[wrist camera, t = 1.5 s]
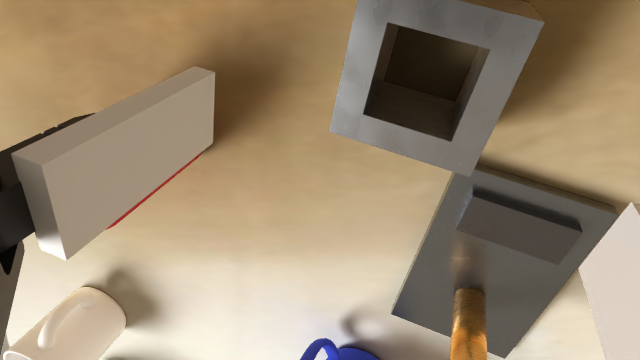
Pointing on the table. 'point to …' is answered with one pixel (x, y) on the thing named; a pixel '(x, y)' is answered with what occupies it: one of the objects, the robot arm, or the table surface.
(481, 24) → the hollow square tube
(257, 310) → the table surface
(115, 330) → the mug
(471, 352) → the keeper
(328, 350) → the mug
